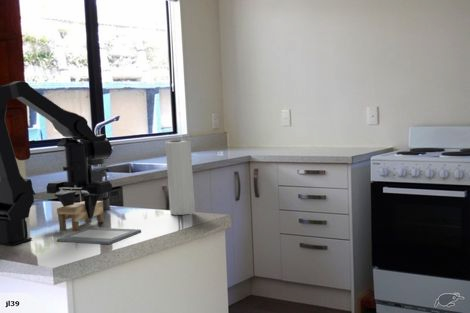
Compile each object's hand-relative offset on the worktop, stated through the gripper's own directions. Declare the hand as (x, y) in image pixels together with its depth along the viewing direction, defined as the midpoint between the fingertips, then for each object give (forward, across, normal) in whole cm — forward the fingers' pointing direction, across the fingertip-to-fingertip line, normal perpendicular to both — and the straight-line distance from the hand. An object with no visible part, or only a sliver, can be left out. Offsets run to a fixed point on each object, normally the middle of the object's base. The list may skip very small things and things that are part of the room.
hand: (81, 218), depth 163 cm
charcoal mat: (+2, -14, +10) cm, 17 cm away
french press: (+2, +13, -22) cm, 26 cm away
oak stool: (+2, 0, 0) cm, 2 cm away
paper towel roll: (+2, -20, -20) cm, 28 cm away
